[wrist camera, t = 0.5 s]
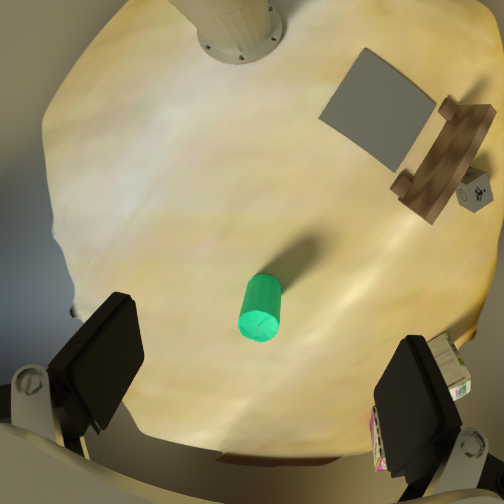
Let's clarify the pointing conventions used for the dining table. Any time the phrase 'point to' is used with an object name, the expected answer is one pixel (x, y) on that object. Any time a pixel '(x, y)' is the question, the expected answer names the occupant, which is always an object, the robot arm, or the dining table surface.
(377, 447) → the candy bar box
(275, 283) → the candle
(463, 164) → the walnut screen
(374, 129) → the grey mat
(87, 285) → the dining table surface
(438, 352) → the syrup box
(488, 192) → the dice cube
